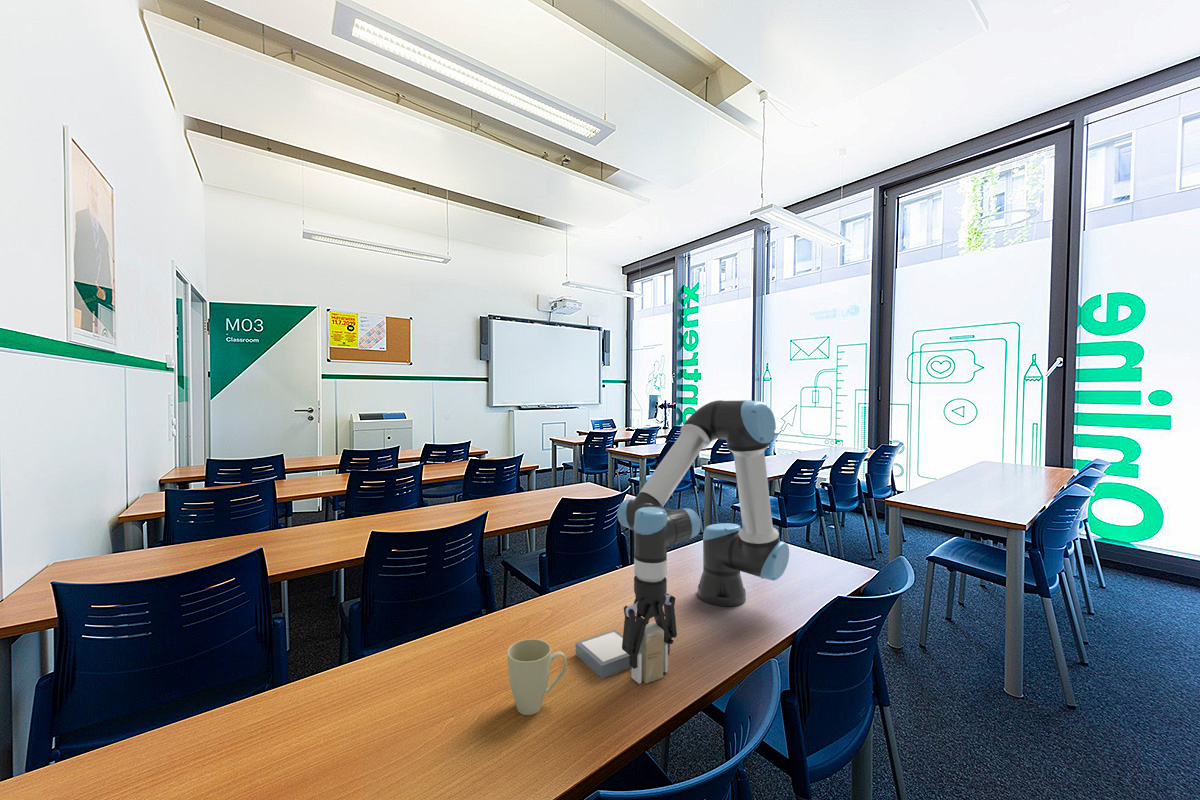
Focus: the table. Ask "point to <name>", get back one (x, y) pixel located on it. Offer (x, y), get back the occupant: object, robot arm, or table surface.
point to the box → (652, 653)
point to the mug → (531, 673)
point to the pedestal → (604, 654)
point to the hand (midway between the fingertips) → (649, 674)
